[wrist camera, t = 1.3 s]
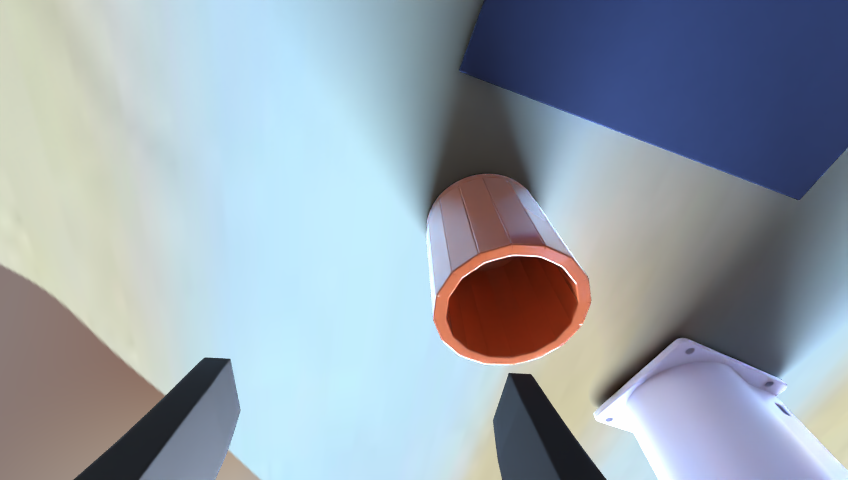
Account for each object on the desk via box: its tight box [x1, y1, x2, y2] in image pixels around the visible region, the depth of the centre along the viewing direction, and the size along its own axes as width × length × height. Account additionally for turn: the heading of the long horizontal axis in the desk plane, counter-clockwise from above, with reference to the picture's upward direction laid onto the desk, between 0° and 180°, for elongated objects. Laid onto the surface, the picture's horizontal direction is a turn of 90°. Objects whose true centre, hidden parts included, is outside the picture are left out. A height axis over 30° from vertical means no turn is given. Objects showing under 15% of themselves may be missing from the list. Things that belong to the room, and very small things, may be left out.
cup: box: [426, 174, 591, 365], centre depth 16 cm, size 5×5×6 cm
